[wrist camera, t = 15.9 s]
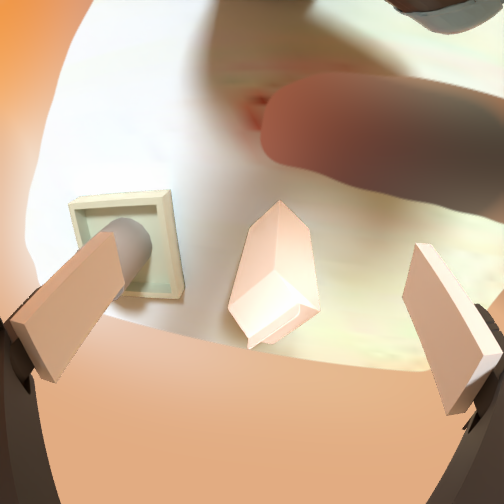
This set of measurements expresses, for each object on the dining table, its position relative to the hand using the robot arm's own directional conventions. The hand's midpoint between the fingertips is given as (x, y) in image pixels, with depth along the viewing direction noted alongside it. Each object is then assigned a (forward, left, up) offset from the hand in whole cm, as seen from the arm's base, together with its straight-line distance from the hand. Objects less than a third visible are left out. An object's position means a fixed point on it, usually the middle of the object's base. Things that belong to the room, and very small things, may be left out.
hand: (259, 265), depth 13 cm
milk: (+11, 0, -31) cm, 32 cm away
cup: (+13, -23, -30) cm, 40 cm away
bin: (+13, -23, -30) cm, 40 cm away
